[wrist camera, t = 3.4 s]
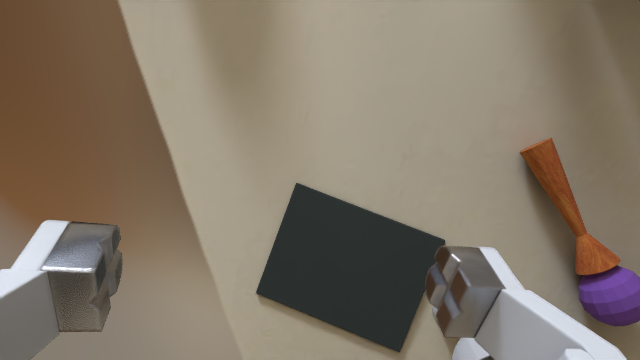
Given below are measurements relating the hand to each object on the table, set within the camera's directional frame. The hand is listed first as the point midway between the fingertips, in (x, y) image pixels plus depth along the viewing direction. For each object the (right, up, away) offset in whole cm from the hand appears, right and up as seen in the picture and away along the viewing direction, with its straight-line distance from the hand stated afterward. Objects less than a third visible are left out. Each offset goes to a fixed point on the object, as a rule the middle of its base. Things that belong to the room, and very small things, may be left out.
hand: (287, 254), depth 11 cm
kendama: (+28, -3, +35) cm, 45 cm away
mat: (+4, -8, +38) cm, 39 cm away
